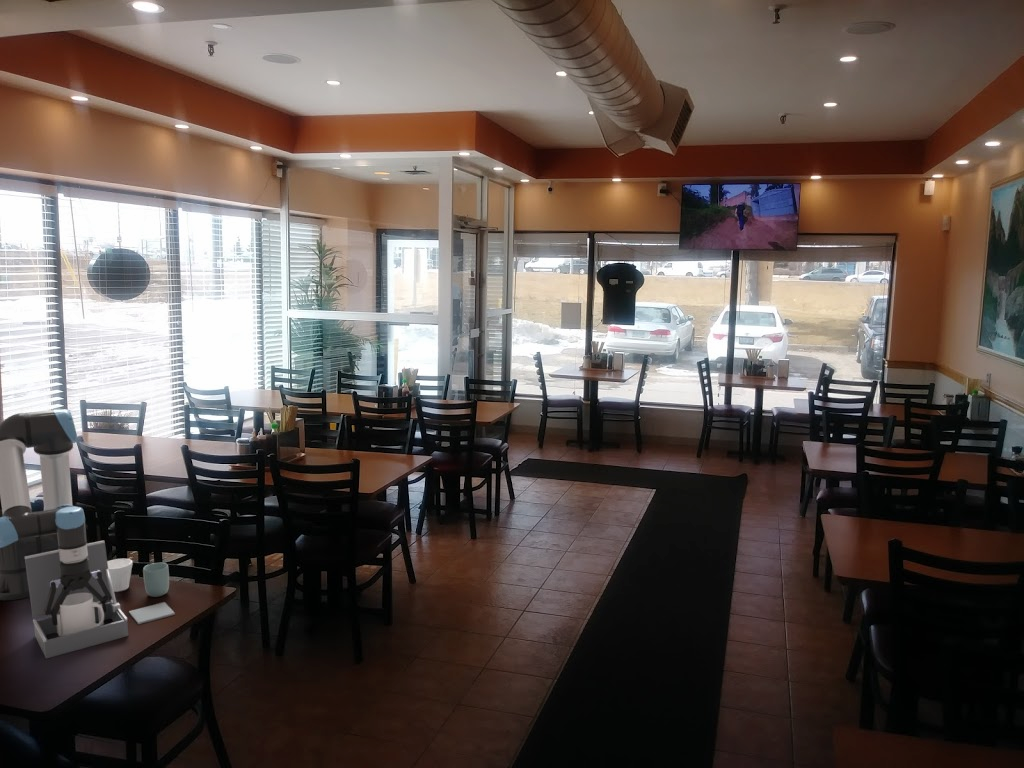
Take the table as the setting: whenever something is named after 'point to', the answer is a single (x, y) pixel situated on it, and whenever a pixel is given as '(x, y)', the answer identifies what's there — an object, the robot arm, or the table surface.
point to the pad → (151, 613)
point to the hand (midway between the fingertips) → (80, 628)
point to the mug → (78, 613)
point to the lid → (48, 568)
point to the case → (85, 636)
